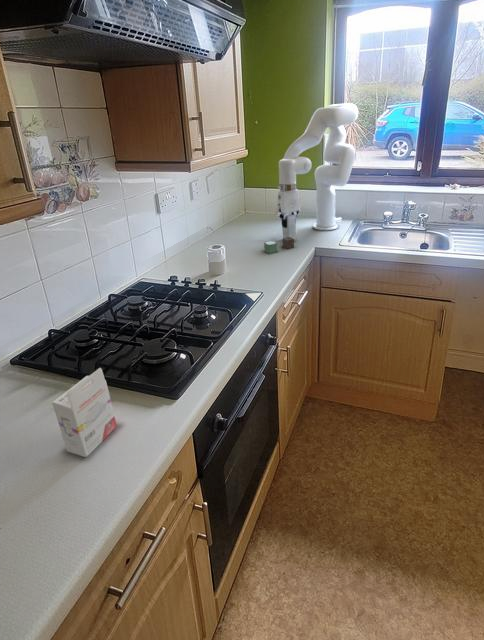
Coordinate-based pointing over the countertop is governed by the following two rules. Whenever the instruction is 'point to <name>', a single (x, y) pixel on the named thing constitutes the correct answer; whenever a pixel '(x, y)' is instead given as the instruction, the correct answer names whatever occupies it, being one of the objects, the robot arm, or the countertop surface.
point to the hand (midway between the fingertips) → (288, 225)
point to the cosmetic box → (290, 227)
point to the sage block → (270, 247)
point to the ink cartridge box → (85, 414)
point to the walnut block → (288, 242)
